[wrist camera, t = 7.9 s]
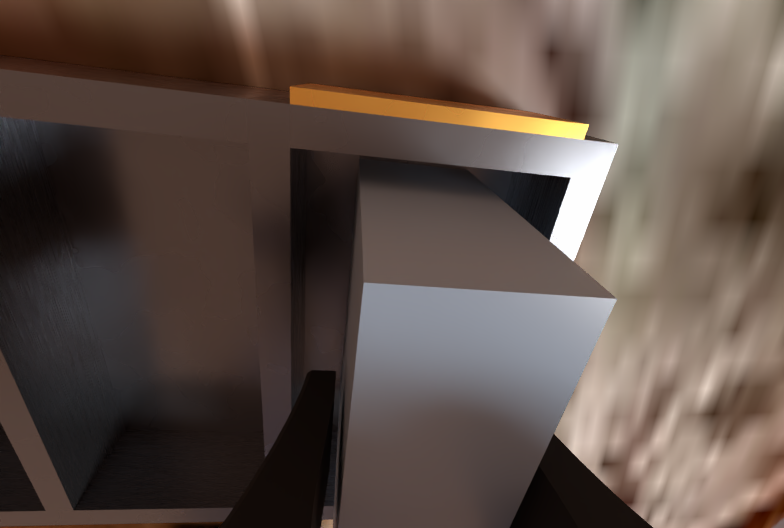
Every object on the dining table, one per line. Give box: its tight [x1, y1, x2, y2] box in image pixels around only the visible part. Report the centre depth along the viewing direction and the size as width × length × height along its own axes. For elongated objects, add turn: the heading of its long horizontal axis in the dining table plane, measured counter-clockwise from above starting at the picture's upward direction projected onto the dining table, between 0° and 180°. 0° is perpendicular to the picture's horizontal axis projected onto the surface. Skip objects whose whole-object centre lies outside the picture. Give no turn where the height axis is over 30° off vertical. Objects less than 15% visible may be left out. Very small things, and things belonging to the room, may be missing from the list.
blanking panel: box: [333, 158, 617, 528], centre depth 10 cm, size 9×3×7 cm, turn 173°
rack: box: [0, 55, 618, 526], centre depth 11 cm, size 14×21×4 cm, turn 83°
